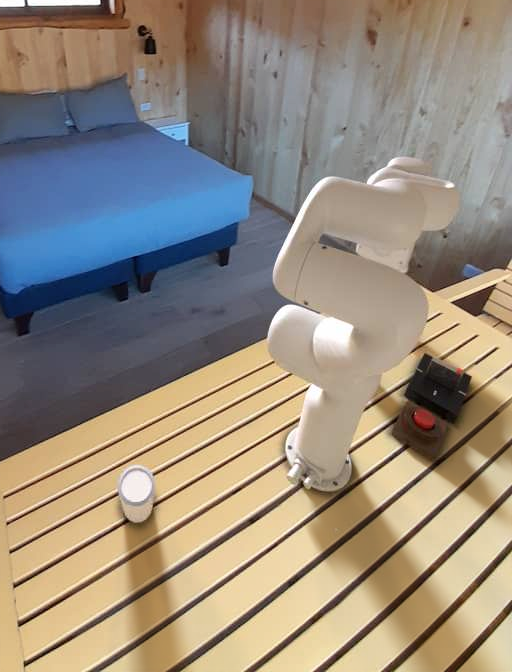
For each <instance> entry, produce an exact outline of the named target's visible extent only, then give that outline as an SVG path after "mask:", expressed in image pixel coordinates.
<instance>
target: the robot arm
mask: <svg viewBox="0 0 512 672" xmlns="http://www.w3.org/2000/svg"><path fill="white" fill-rule="evenodd" d="M431 173H432V168H431V165H430V164H429V163H427V162H426V161H424V160H422V159H419V158H416V157H410V156H398V157H397V156H396V157H394V158H392V159H390V161H389V162H388V164H387V166H385V167H382V168H380V169H379V170H377V171H376V172H375V173H374V174H371V175H370V177H369V178H368V180H367V182H362V181H357V180H354V179H349V178H345V177H339V176H327V177H324V178H322V179H321V180H320V181H319V182H317V183H316V184H315V186H314V187H313V188H312V189H311V190H310V192H309V193H308V195H307V197H306V199H305V200H304V202H303V203H302V206H301V207H300V210H299V211H298V214H297V216H296V218H295V220H294V223H293V224H292V226H291V228H290V230H289V232H288V234H287V236H286V238H285V240H284V243H283V245H282V247H281V249H280V251H279V253H278V255H277V258H276V260H275V262H274V267H273V271H272V283H273V287H274V288H275V290H276V292H277V293H278V294H279V295H281V296H282V297H283V298H285V299H286V300H289V301H291V302H293V303H295V304H287V305H284V306H282V307H281V308H279V310H278V311H277V312H276V313H275V315H274V317H273V318H272V320H271V322H270V325H269V327H268V333H267V339H266V348H267V352H268V354H269V356H270V358H271V359H272V361H273V362H274V363H275V364H276V366H277V367H279V368H280V369H282V370H284V371H286V372H287V373H289V374H292V375H294V376H295V377H297V378H299V379H302V380H303V381H305V382H307V383H309V384H311V385H310V386H309V387H308V389H307V390H306V393H305V397H304V402H303V406H302V410H301V414H300V418H299V421H298V422H299V423H298V425H297V427H295V428H294V429H293V430H291V431H290V433H288V435H287V438H286V441H285V450H284V451H285V456H286V460H287V462H288V464H289V467H290V468H291V469H290V470H289V472H288V473H287V475H286V479H287V481H288V482H289V483H290V484H292V485H294V486H295V485H297V484H298V482H299V480H301V481H302V484H303V486H304V487H305V488H306V489H308V490H310V489H311V488H313V489H315V490H318V491H322V492H336V491H339V490H341V489H343V488H344V487H345V486H346V485H347V484H348V482H349V480H350V478H351V475H352V468H353V467H352V466H353V465H352V461H351V457H350V454H349V453H350V449H351V447H352V443H353V440H354V437H355V435H356V433H357V429H358V426H359V424H360V421H361V419H362V416H363V413H364V412H365V409H366V407H367V406H368V403H369V402H370V401H371V399H372V398H373V397H374V395H376V392H377V391H378V389H379V386H380V383H381V380H382V375H383V374H385V373H387V372H389V371H390V370H392V369H394V368H396V367H397V366H399V365H400V364H401V363H402V362H403V361H404V360H405V359H406V358H407V357H408V356H409V355H410V354H411V353H412V351H413V350H414V349H415V348H416V346H417V345H418V343H419V341H420V339H421V337H422V335H423V334H424V333H423V332H424V330H425V328H426V326H427V322H428V318H429V317H428V316H429V307H430V306H429V300H428V297H427V295H426V292H425V291H424V289H423V288H422V286H420V285H419V283H418V282H417V281H415V280H414V279H413V278H411V277H410V276H409V275H408V274H407V273H408V272H409V262H410V261H411V259H412V257H413V253H414V250H415V245H416V242H417V241H418V239H419V238H420V236H421V235H422V233H423V232H433V231H434V232H437V231H441V230H443V229H445V228H447V227H448V226H449V225H450V224H451V222H453V220H454V218H455V217H456V215H457V212H458V209H459V204H460V199H461V197H460V190H459V187H458V185H457V184H456V183H454V182H452V181H450V180H446V179H442V178H437V177H432V176H431V175H432V174H431ZM323 235H328V236H331V237H335V238H338V239H341V240H345V241H347V242H351V243H355V244H356V248H355V254H354V253H352V252H348V251H345V250H342V249H338V248H335V247H333V246H329V245H326V244H323V243H320V242H319V241H320V240H321V237H322V236H323ZM297 304H298V305H297ZM305 307H306V308H305Z"/></svg>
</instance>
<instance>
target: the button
mask: <svg viewBox="0 0 512 672" xmlns="http://www.w3.org/2000/svg"><path fill="white" fill-rule="evenodd" d="M426 410H427V409H425V410H423V409H418V410H416V412H415V414H414V416H413V420H414V422H415V423H416V425H417V426H419V427H420V428H422V429H424V430H431V429H432V428H433V426H434V424H435V418H434V417H433V415H432V414H433V413H432V412H431V413H432V414H431V413H429V412H430V411H429V410H427V411H426ZM428 411H429V412H428Z"/></svg>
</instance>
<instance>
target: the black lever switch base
mask: <svg viewBox="0 0 512 672" xmlns="http://www.w3.org/2000/svg"><path fill="white" fill-rule="evenodd" d="M432 358H433V356H432V355H430V354H429V353H427V352H423V355H422V357H421V359H420V361H419V363H418V365H417V367H416V368H415V370H414V373H413V375H412V376H411V379H410V380H409V383H408V384H407V387H406V389H405V391H404V394H403V396H404V397H406V398H407V399H408V400H410V401H412V402H413V403H415V404H417V405H419V406H420V407H422V408H424V409H426V410H427V411H429V412H431V413H432V414H434V415H436V416H438V417H439V418H441V419H443V420H444V421H446V422H448V423H451V424H452V425H454V424H455V423H456V421H457V420H458V417H459V415H460V412H461V409H462V407H463V403H464V401H465V398H466V397H467V392H468V389H469V388H470V387H469V386H470V384H471V381H472V379H473V376H472V375H470V374H469V373H466V372H464V373H463V375H462V377H461V379H460V381H459V383H458V385H457V387H456V389H455V391H452V390H450V389H449V388H447V387H445V386H443V385H441V384H439V383H437V382H436V381H434V380H432V379H430V378H428V377H426V376H425V374H426V372H427V370H428V367H429V365H430V363H431V360H432Z"/></svg>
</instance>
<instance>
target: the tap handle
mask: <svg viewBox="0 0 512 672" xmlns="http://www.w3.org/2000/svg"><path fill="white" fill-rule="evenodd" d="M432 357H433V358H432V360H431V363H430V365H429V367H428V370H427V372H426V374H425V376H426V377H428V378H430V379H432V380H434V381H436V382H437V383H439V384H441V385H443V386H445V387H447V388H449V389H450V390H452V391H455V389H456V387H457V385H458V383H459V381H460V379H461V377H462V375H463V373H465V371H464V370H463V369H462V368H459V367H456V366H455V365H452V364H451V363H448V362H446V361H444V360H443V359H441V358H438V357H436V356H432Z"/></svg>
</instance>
